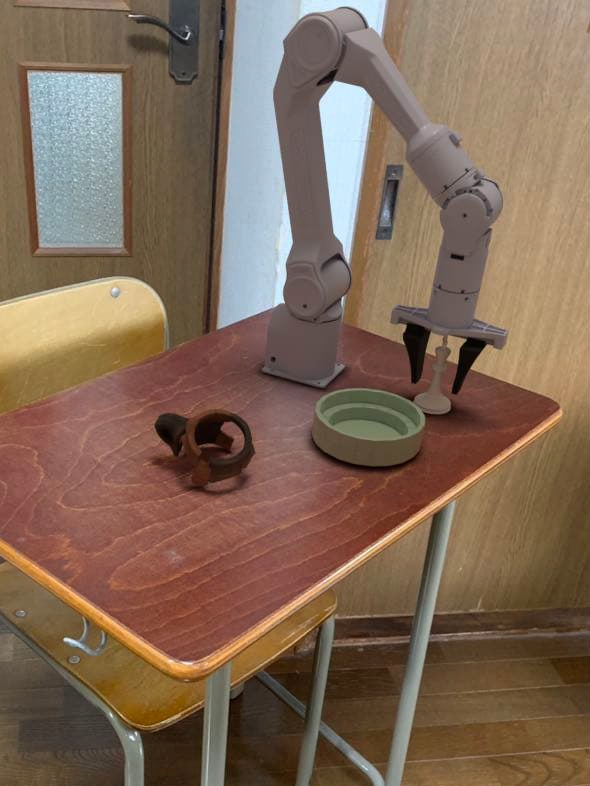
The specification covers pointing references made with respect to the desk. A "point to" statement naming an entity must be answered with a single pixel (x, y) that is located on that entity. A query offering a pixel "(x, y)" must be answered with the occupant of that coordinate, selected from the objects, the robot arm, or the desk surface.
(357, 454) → the bowl
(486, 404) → the desk surface
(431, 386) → the chess piece
